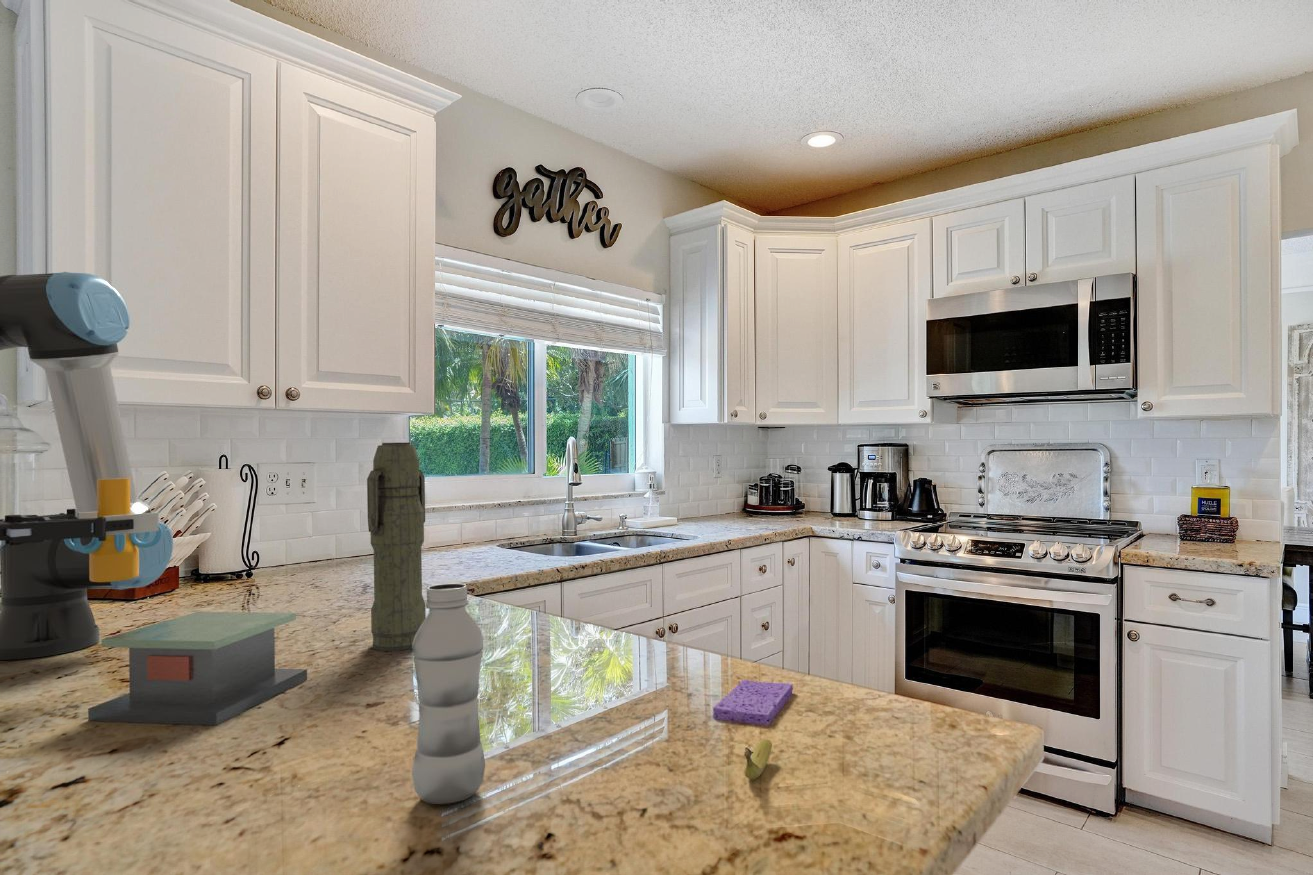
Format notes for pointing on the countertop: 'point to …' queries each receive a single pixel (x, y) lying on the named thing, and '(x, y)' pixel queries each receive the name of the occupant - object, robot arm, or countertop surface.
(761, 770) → the banana
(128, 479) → the cylinder
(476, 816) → the countertop surface
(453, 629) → the plastic bottle
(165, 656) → the grey green pedestal stand
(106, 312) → the robot arm
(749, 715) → the sponges
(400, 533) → the thermos
